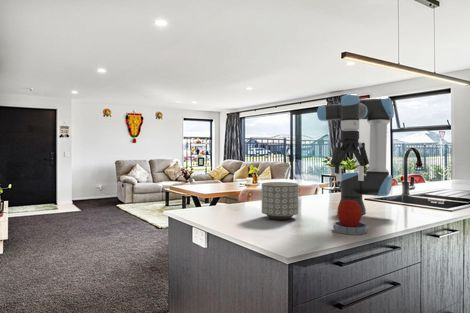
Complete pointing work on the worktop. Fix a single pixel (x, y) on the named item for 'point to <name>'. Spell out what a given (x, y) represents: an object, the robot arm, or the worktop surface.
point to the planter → (280, 200)
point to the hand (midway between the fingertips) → (349, 181)
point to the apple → (349, 213)
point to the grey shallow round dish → (350, 229)
